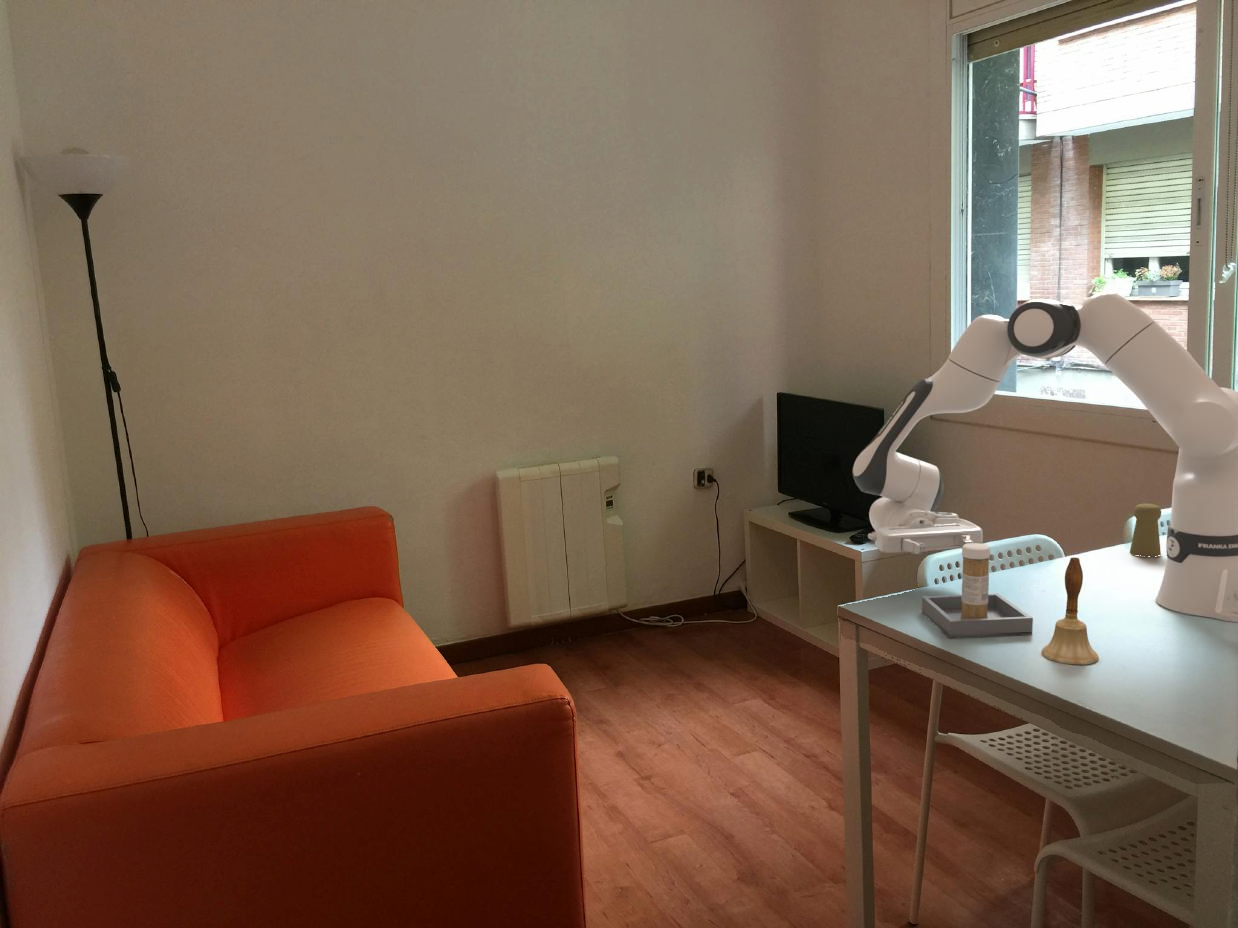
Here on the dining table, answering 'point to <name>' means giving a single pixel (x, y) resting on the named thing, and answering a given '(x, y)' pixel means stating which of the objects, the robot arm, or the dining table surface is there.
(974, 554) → the sprinkles bottle
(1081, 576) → the hand bell
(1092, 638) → the dining table surface
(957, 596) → the box
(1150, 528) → the cork
